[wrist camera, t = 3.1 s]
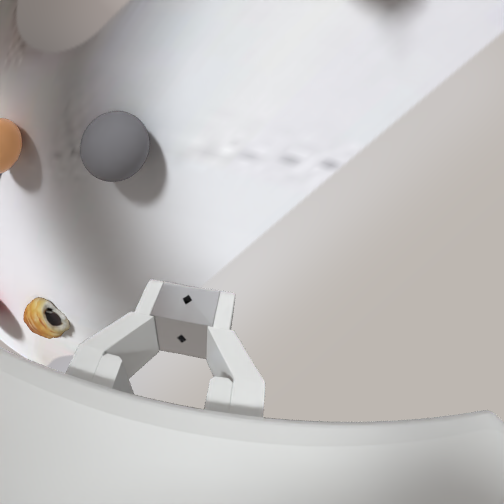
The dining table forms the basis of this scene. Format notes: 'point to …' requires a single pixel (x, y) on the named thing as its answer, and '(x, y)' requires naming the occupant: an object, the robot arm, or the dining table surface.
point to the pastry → (45, 319)
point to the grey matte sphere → (114, 146)
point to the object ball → (9, 144)
